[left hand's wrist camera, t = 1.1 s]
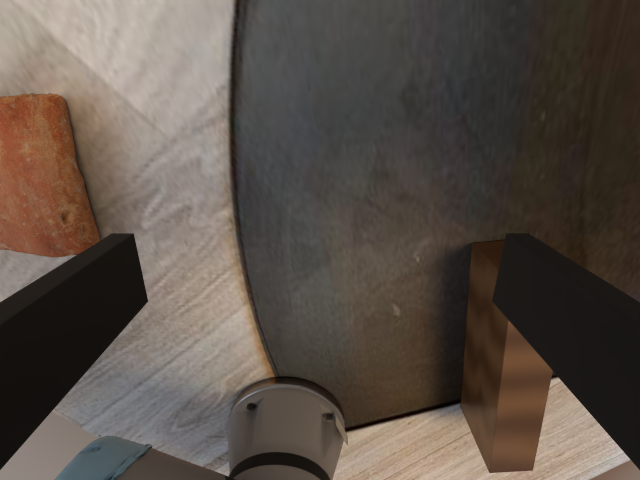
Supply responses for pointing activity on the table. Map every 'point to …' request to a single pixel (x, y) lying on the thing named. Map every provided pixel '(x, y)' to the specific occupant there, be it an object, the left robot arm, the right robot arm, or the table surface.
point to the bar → (500, 374)
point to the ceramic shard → (41, 180)
